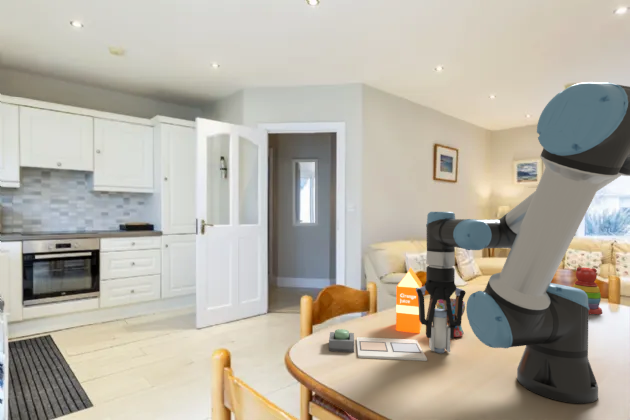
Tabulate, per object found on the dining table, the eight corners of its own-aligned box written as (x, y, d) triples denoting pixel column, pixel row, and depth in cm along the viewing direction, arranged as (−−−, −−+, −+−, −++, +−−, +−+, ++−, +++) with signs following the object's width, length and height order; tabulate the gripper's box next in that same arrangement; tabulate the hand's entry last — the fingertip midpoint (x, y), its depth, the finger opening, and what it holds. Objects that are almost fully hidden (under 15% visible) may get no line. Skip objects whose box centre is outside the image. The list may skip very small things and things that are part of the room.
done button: (348, 341, 101) (348, 334, 101) (334, 340, 101) (334, 333, 101) (348, 336, 105) (348, 329, 105) (335, 335, 105) (335, 328, 105)
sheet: (426, 360, 94) (426, 358, 94) (358, 357, 96) (358, 354, 96) (416, 341, 108) (416, 339, 108) (356, 339, 110) (356, 336, 110)
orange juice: (395, 330, 118) (396, 270, 118) (398, 322, 126) (399, 266, 127) (420, 333, 116) (420, 271, 116) (422, 325, 124) (422, 267, 124)
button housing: (354, 352, 99) (354, 341, 99) (328, 351, 100) (329, 340, 100) (353, 343, 106) (353, 333, 106) (330, 342, 107) (330, 332, 107)
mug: (452, 341, 109) (452, 306, 109) (428, 332, 117) (428, 299, 117) (476, 334, 115) (476, 301, 115) (452, 326, 123) (452, 295, 123)
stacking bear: (601, 310, 146) (601, 267, 146) (604, 316, 137) (605, 270, 137) (568, 306, 151) (568, 264, 151) (570, 312, 143) (570, 267, 143)
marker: (448, 354, 99) (448, 312, 99) (433, 353, 99) (434, 312, 99) (444, 349, 102) (445, 308, 102) (430, 348, 103) (431, 308, 103)
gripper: (466, 264, 104) (465, 345, 104) (408, 263, 105) (407, 343, 105) (475, 269, 96) (475, 356, 96) (412, 267, 98) (411, 353, 98)
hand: (439, 349), depth 101 cm, fingers closed on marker, 4 cm apart
